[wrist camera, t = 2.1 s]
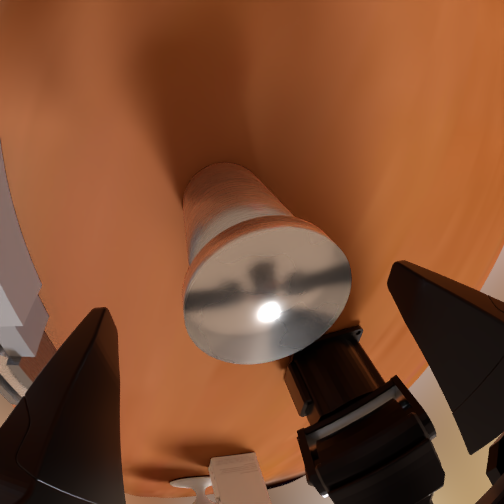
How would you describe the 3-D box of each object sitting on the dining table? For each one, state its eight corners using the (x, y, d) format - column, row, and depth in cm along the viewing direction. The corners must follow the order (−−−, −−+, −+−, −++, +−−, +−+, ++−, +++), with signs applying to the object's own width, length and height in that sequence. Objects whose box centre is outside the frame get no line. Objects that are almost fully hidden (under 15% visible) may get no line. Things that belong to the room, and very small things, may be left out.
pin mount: (36, 317, 14) (18, 365, 10) (66, 364, 16) (58, 409, 13) (-10, 319, 13) (-29, 361, 9) (21, 363, 15) (10, 403, 12)
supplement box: (209, 457, 33) (228, 527, 22) (255, 451, 35) (278, 516, 25) (206, 467, 36) (222, 528, 26) (247, 462, 39) (266, 520, 28)
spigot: (269, 154, 13) (366, 221, 6) (266, 237, 15) (333, 345, 9) (172, 161, 12) (170, 243, 5) (182, 247, 14) (197, 374, 8)
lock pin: (21, 334, 12) (8, 372, 10) (85, 414, 18) (84, 444, 16) (-8, 334, 12) (-21, 368, 9) (58, 412, 18) (56, 440, 15)
